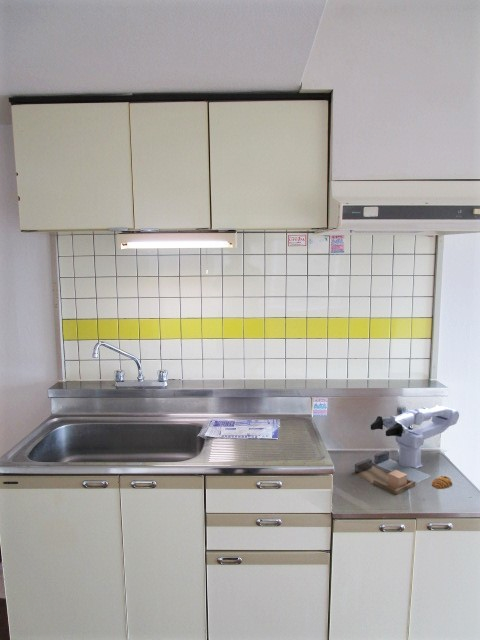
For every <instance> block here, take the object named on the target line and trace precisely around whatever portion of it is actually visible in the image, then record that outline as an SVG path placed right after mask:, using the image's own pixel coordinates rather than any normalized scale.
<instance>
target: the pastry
mask: <svg viewBox="0 0 480 640" xmlns="http://www.w3.org/2000/svg"><path fill="white" fill-rule="evenodd" d="M453 484H454V483H453V481H452V480H451V478H450V477H449V476H447V475H441V476H438V477H436V478H435V479H433V481H432V482H431V487H432V488H435V489H437V490H443V489H447V488H450V487H451V486H453Z"/></svg>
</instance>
